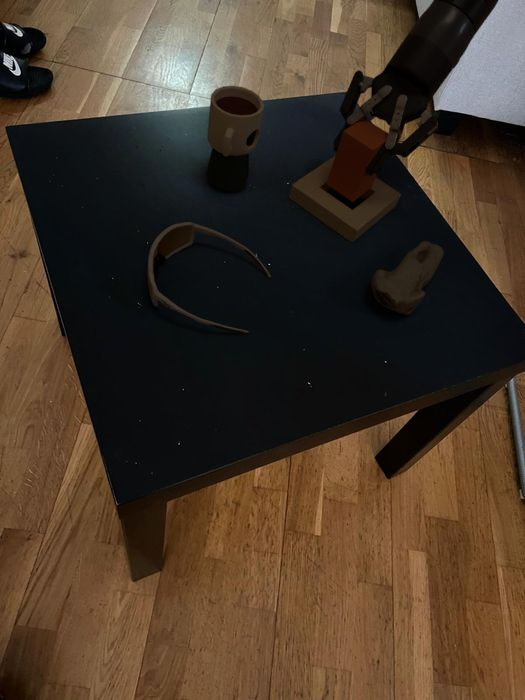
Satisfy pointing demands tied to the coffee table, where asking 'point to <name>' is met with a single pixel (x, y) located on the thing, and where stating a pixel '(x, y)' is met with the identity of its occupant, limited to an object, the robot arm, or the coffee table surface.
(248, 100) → the character mug
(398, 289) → the sculpture
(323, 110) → the coffee table surface
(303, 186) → the base pad
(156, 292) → the sunglasses
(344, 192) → the post
